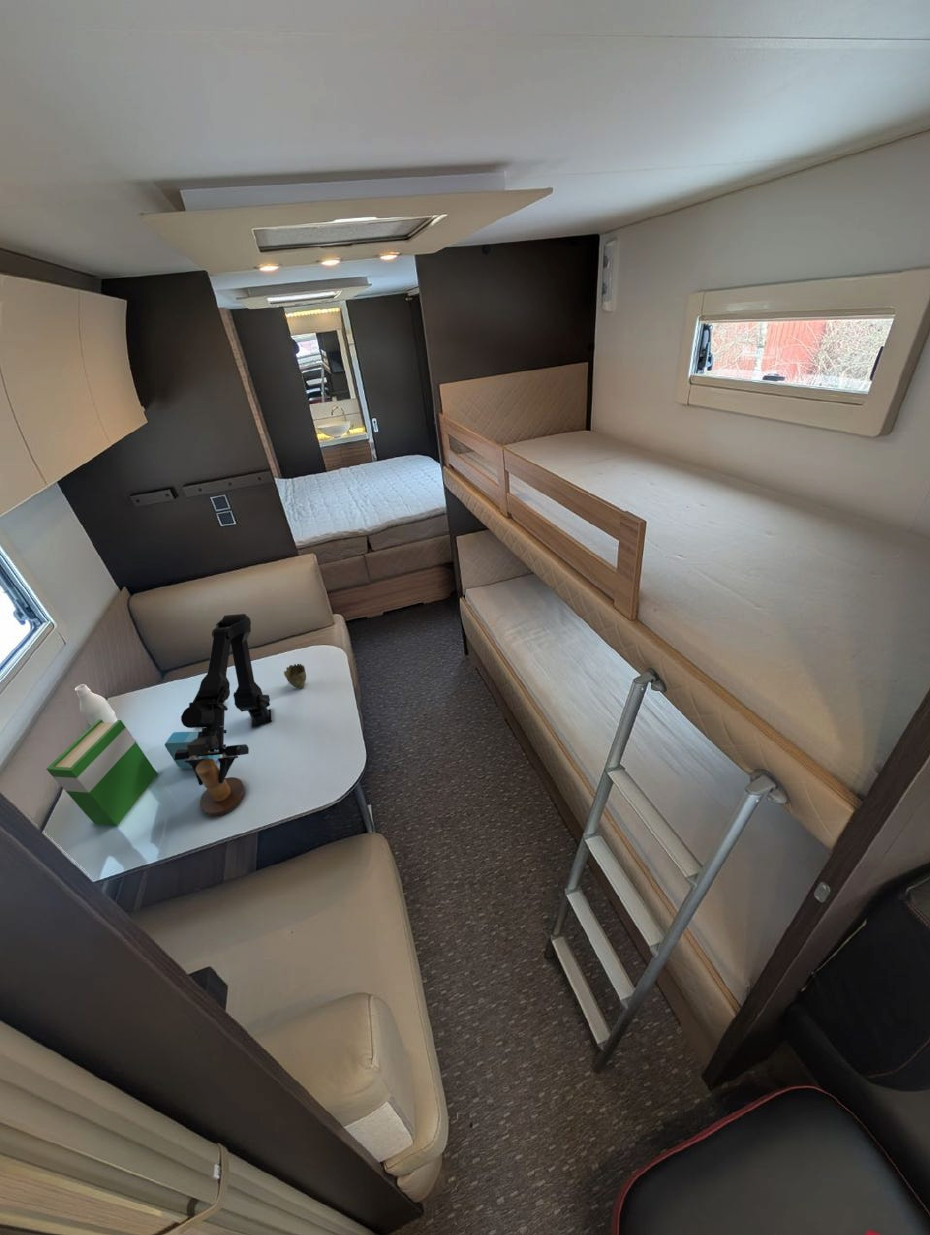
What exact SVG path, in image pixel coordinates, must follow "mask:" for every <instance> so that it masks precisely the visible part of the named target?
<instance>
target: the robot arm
mask: <svg viewBox="0 0 930 1235" xmlns="http://www.w3.org/2000/svg"><path fill="white" fill-rule="evenodd" d="M251 625H252V622H251V618H250V617H249V616H247V614H246V613H238V614H227V615H224V616H223V617H222V619H220V620H218V621H217V622H216V623H215V627H214V628H213V630H212V632H211V637H212V643H211V650H210V655H209V656H210V657H209V662H208V669H207V673H206V675H205V676H204V677H203V678H202V680H201V681H200V684H199V688H198V691H197V693H196V695H195V697H194V698H193V700H192V702H189V703H188V707H187V708H185V709H184V710H183V712H182V714H181V716H180V720H181V723H182V726H184V727H185V728H188V729H196V728H197V729H199V728H201V730H200V731H201V732H199V733H198V737H197V739H194V740H193V741H191V742H190V743H188V744H187V748H188V749H180V750H177V751H176V753H175V754H174V760H183V759H186V761H185V763H189V764H190V765H191V766H192V768H191V769H192V770H193V771H194V774H195V777H196V780H197V782H198V785H199V786H202V785H204V784H203V782H202V780H201V779H200V777H199V775H198V774H197V772H196V766H197V765H198V764H199V763H200V762H201V761H203V760H205V759H206V758H203V759H202V756H210V755H220V756H222V757H219V758H218V760H217V762H218V763H219V770H220V771H219V783H220V784H221V783H223V781H224V779H225V778H227V777H226V776H227V775H228V772H229V771H230V769H231V767H232V765H233V763H234V761H235V760H236V759H239V756H244V755H249V750H250V747H249V746H248V744H246V743H245V744H232V745H227V744H226V743H224V741H225V734H227V729H225V711H229V708H228V706H226V704H224V702H225V703H226V701H227V700H228V699H229V697H230V695H231V689H230V685H231V683H230V681H229V679H228V677H227V672H228V671H227V670H228V665H229V657H230V651H231V652H232V658H233V663H234V669H235V674H236V679H237V688H236V690H235V691H234V692H233V699H234V705H235V706H234V707H236V709H237V710H239V711H240V712H248V714H249V716H250V718H251V728H257V727H260V726H263V725H266V724H269V723H272V720H273V719H272V709H268V707H270V705H271V703H270V702H271V698H270V695H269V694H263V692H262V688H261V687H260V686H259V685H258V684H257V683H256V682H255V678H254V671H253V667H252V666H253V665H252V660H251V656H250V650H249V649H250V648H249V644H248V638H249V636H250V634H251V632H252V629H251ZM215 749H216V750H218V751H215ZM208 751H210V752H208ZM174 760H173V761H174Z"/></svg>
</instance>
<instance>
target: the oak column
mask: <svg viewBox="0 0 930 1235" xmlns="http://www.w3.org/2000/svg"><path fill="white" fill-rule="evenodd" d="M219 771H220V767H219V766H218V764H217V761H216V762H215V761H214V760H213V759H205V760H203V761H201V762H200V763H199V764H198V765H197V766H196V772H197V774H198V775H199V777H200V779H201V780H202V782H203V784H202V785H204V787H205V788H206V789H207V790H208V792H209V794H210V795H211V797H212V799H213V800H214V801H216V802H219V801H222V800H224V799H226V798H227V797H228V796H229V795H230V793H231V789H230V787H229V785H228V784H227V782H226V780H225V779H224V781H223V783H221V784H220V783H219ZM206 789H205V790H206Z"/></svg>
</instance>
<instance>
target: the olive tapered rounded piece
mask: <svg viewBox="0 0 930 1235" xmlns="http://www.w3.org/2000/svg"><path fill="white" fill-rule="evenodd" d="M285 669H286V670H284V671H283V675H284V677H285V678H286V680H287V682H288V683H289V684H290V685H291V686H293V687H294V688H295V689H302V688H304V687H305V683H306V681H307V673H306V668H305V665H304V664H302V663H297V664H296V663H294V664H293V665H292V664H289V665H288V666H287V667H286V668H285Z"/></svg>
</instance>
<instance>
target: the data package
mask: <svg viewBox="0 0 930 1235" xmlns="http://www.w3.org/2000/svg"><path fill="white" fill-rule="evenodd" d="M199 732H201V730H200V731H198V730H197V731H174V732H172V733H171V735H170V736H169V737H168V739H167V740H166V742H165V743H164V748H165V749H166V750H167V752H168V753H169V755H170V756H171V758H172V760H173V761H174V763H175V764H176V766H177V767H178V768H179V769H183V770H185V769H187V770H188V769H193V768H192V766H191V765H190V764H189V763H185V761H186V759H183V760H174V754H175V753H176V751H177V750H180V749H188V748H187V744H188V743H190V742H191V741H193V740H194V739H197V737H198V733H199ZM215 751H218V750H216V749H215ZM208 752H210V751H208ZM220 756H221V755H210V756H202V759H203V758H206V759H213V760H214V761H215V762H216V763H217V762H218V758H220Z"/></svg>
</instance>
